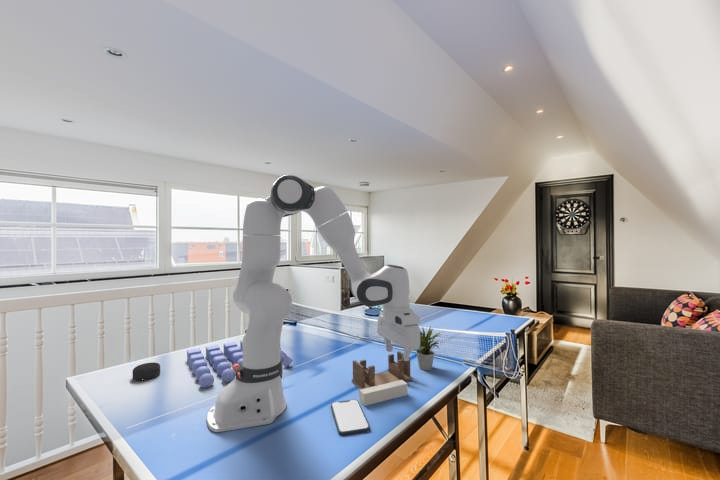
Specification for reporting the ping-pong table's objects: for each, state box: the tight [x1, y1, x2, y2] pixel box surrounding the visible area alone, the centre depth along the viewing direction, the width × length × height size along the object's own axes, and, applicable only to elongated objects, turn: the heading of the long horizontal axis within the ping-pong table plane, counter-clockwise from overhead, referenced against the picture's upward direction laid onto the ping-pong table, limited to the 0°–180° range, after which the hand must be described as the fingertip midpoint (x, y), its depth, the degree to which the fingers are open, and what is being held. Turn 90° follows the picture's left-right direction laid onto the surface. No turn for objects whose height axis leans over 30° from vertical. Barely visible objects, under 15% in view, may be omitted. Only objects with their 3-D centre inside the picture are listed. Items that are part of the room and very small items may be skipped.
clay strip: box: [358, 380, 408, 407], centre depth 106 cm, size 16×3×4 cm, turn 116°
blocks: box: [186, 339, 294, 389], centre depth 137 cm, size 35×34×5 cm
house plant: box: [415, 325, 443, 371], centre depth 130 cm, size 14×14×16 cm
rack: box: [351, 351, 413, 390], centre depth 119 cm, size 20×9×8 cm, turn 118°
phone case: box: [330, 399, 371, 437], centre depth 95 cm, size 9×2×16 cm
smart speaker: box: [132, 362, 161, 381], centre depth 125 cm, size 9×9×4 cm
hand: (397, 355), depth 109 cm, fingers open, 8 cm apart
